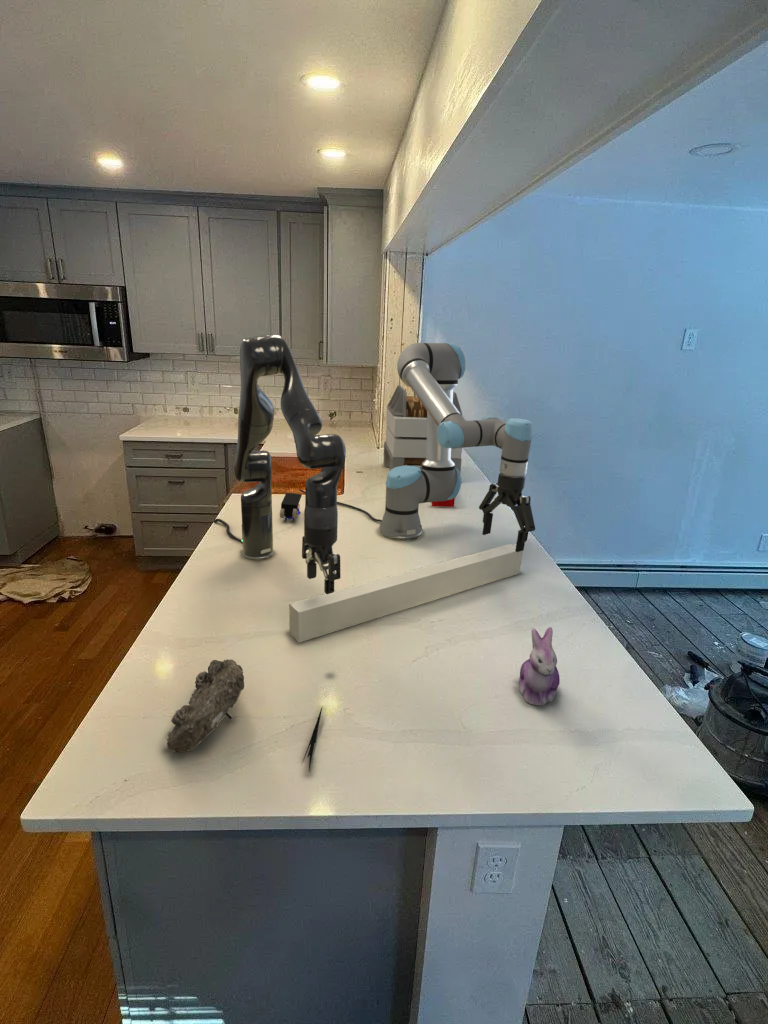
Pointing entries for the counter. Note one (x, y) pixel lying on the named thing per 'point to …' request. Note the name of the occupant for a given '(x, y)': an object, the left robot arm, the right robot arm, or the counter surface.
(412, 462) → the grey wooden crate
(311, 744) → the feather
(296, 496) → the figurine character
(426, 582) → the beam
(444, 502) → the toy
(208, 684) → the fossil
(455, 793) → the counter surface
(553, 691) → the figurine
